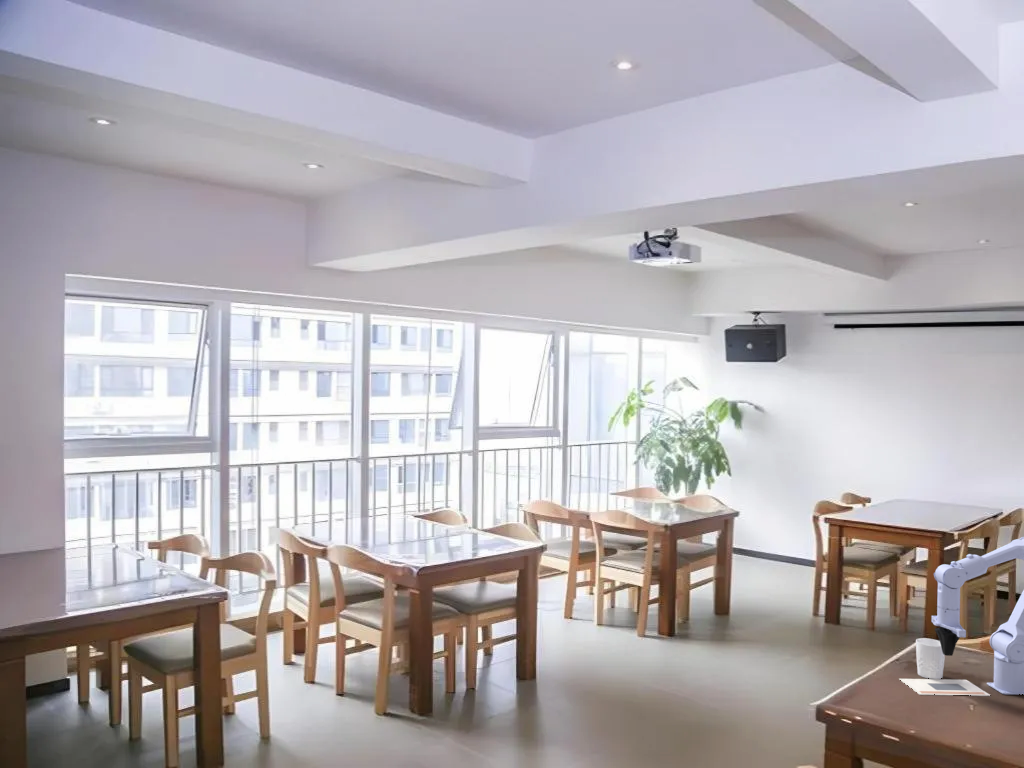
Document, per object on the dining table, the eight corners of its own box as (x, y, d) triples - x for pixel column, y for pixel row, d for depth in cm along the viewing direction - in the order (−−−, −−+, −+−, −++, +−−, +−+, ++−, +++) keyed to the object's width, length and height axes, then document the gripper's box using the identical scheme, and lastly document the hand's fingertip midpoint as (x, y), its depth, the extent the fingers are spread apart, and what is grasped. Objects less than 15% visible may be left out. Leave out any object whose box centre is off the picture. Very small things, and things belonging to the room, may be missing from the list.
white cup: (950, 680, 237) (950, 646, 237) (923, 680, 237) (923, 646, 237) (936, 671, 245) (937, 638, 245) (910, 670, 245) (911, 637, 245)
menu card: (966, 680, 237) (966, 679, 237) (990, 696, 225) (990, 695, 225) (898, 679, 237) (898, 678, 237) (919, 694, 225) (919, 694, 225)
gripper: (921, 600, 239) (920, 646, 239) (948, 614, 224) (947, 663, 224) (945, 600, 239) (944, 646, 239) (973, 614, 224) (972, 663, 224)
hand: (947, 654), depth 231 cm, fingers closed
